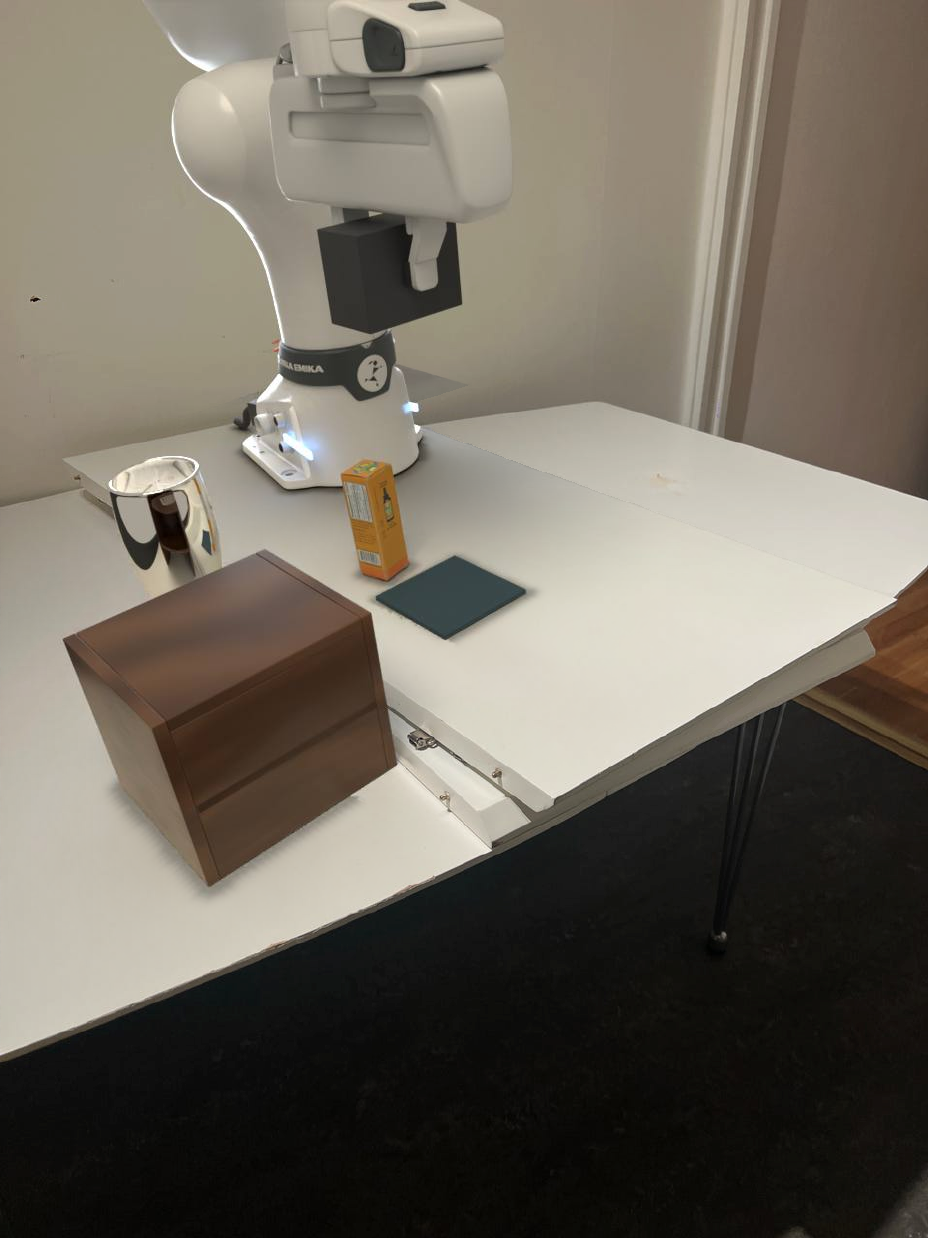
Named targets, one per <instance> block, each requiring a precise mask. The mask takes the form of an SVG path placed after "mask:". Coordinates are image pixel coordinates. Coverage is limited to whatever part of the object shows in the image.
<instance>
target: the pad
mask: <svg viewBox="0 0 928 1238" xmlns="http://www.w3.org/2000/svg"><path fill="white" fill-rule="evenodd" d="M526 593H527V590H526V588H524V587H522V586H520V585H518V584H515V583H513V582H511V581H509V580H507V579H505V578H503V577H501V576H500V575H497V574H495V573H492V572H491V571H488V570H487V569H485V568H482V567H480V566H478V565H476V564H474V563H472V562H470V561H468V560H466V559H463V558H461V557H459V556H457V555H452V556H451V557H449V558H446V559H444V560H443V561H441V562H439V563H436V564H435V565H433V566H431V567H429V568H427V569H425V570H423V571H422V572H419V573H418V574H416V575H413V576H412V577H410V578H408V579H406V580H404V581H402V582H399V583H398V584H396V585H394V586H392V587H391V588H388V589H386V590H384V591H383V592H381V593H378V594H377V595H375V601H378V602H379V603H381V604H383V605H384V606H386V607H388V608H390V609H391V610H393V611H395V612H397V613H399V614H400V615H402V616H403V617H406V618H407V619H409V620H410V621H412V622H414V623H416V624H417V625H419V626H421V627H423V628H424V629H426V630H427V631H429V632H431V633H432V634H434V635H437V636H438V637H440V638H442V639H443V640H447V639H449V638H452V636H454V635H456V634H457V633H460V632H461V631H463V630H464V629H466V628H468V627H470V626H471V625H474V624H475V623H477V622H479V621H480V620H482V619H484V618H485V617H487V616H490V614H492V613H494V612H496V611H498V610H499V609H501V608H503V607H504V606H506V605H508V604H510V603H511V602H513V601H515V600H517V599H518V598H520V597H522V596H524V595H525V594H526Z"/></svg>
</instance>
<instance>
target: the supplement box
mask: <svg viewBox="0 0 928 1238" xmlns="http://www.w3.org/2000/svg"><path fill="white" fill-rule="evenodd" d="M340 475H341V480H342V485H343V486H342V490H343V494H344V499H345V504H346V509H347V513H348V518H349V522H350V528H351V532H352V537H353V541H354V547H355V551H356V555H357V560H358V564H359V569H360V573H361V575H365V576H367V577H371V578H374V579H378V580H382V581H389V580H391V579H392V578H393V577H394V576H395V575H396V574H398V573H399V572H400V571H401V570H402V569H404V568H406V567H407V566H408V565H409V557H408V552H407V545H406V539H405V534H404V529H403V524H402V522H403V521H402V516H401V509H400V504H399V499H398V493H397V487H396V483H395V477H394V475H393V470H392V465H391V464H390V463H384V462H379V461H373V460H365V459H363V460H361V461H360V462H358V463H357V464H355V465H354V466H352V467H350V468H349V469H347V470H346V471H344V472H342V473H341V474H340Z"/></svg>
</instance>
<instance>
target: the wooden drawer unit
mask: <svg viewBox="0 0 928 1238" xmlns="http://www.w3.org/2000/svg"><path fill="white" fill-rule="evenodd" d="M372 614H373V613H372V612H371V611H369V610H368V609H366V608H365V607H363V606H361V605H359V604H358V603H356V602H355V601H353V600H351V599H350V598H348V597H346V596H345V595H343V594H341V593H339V592H338V591H336V590H334V589H333V588H331V587H329V586H328V585H326V584H324V583H323V582H321V581H319V580H318V579H316V578H314V577H313V576H311V575H309V574H308V573H306V572H304V571H302V570H301V569H299V568H297V567H296V566H295V565H293V564H291V563H289V562H288V561H286V560H284V559H283V558H281V557H279V556H278V555H276V554H275V553H273V552H271V551H269V550H268V549H266V548H263V549H261V550H259V551H257V552H255V553H252V554H249V555H247V556H245V557H243V558H241V559H239V560H237V561H234V562H232V563H230V564H227V565H226V566H222V568H221V569H218V570H216V571H214V572H212V573H209V574H207V575H205V576H203V577H200V578H198V579H196V580H194V581H191V582H189V583H187V584H185V585H182V586H180V587H178V588H176V589H173V590H171V591H169V592H167V593H164V594H162V595H160V596H158V597H156V598H153V599H148V600H146V601H144V602H142V603H140V604H137V605H136V606H133V607H131V608H129V609H127V610H124V611H122V612H119V613H118V614H115V615H113V616H111V617H108V618H106V619H104V620H102V621H100V622H97V623H95V624H93V625H90V626H88V627H86V628H83V629H81V630H79V631H77V632H76V633H72V634H70V635H68V636H65V637H63V638H62V643H63V645H64V647H65V650H66V653H67V654H68V656H69V659H70V662H71V664H72V667H73V669H74V671H75V674H76V676H77V679H78V682H79V684H80V686H81V688H82V692H83V694H84V697H85V699H86V702H87V704H88V706H89V709H90V712H91V714H92V717H93V719H94V722H95V724H96V727H97V729H98V731H99V734H100V737H101V739H102V741H103V745H104V747H105V749H106V751H107V753H108V756H109V758H110V759H109V760H110V761H111V763H112V767H113V769H114V772H115V774H116V776H117V779H118V781H119V784H120V786H121V788H122V789H123V790H124V791H125V792H126V794H127V795H128V796H129V797H130V798H131V799H132V801H134V803H135V804H136V805H137V807H139V808H140V809H141V811H142V812H143V813H144V814H145V815H146V817H147V818H148V819H149V820H150V821H151V822H152V824H153V825H154V826H155V827H156V828H157V829H158V830H159V832H160V833H161V834H162V835H163V837H164V838H165V839H167V841H168V842H169V843H170V845H172V847H173V848H174V849H175V850H176V851H177V852H178V853H179V854H180V855H181V857H182V858H183V859H184V861H186V863H187V864H188V865H189V866H190V867H191V868H192V870H193V871H194V872H195V873H196V874H197V876H198V877H199V878H200V879H201V880H202V881H203V883H205V885H206V886H207V887H210V886H212V885H214V884H215V883H217V882H219V881H220V880H221V879H223V878H225V877H227V876H228V875H230V874H231V873H232V872H234V871H236V870H237V869H239V868H240V867H242V866H243V865H245V864H246V863H247V862H249V861H251V860H253V859H254V858H255V857H257V856H258V855H260V854H262V853H264V852H265V851H266V850H268V849H269V848H271V847H272V846H274V845H276V844H277V843H278V842H280V841H282V840H283V839H285V838H287V837H288V836H290V835H291V834H293V833H294V832H295V831H297V830H299V829H300V828H301V827H303V826H305V825H306V824H308V823H310V822H311V821H313V820H314V819H315V818H317V817H319V816H321V815H322V814H323V813H325V812H326V811H328V810H330V809H332V808H333V807H334V806H335V805H337V804H339V803H340V802H342V801H344V800H345V799H346V798H348V797H350V796H351V795H353V794H355V793H356V792H357V791H359V790H360V789H362V788H363V787H365V786H367V785H369V784H370V783H371V782H374V780H376V779H378V778H379V777H381V776H382V775H384V774H385V773H387V772H388V771H389V770H391V769H392V768H394V767H396V766H397V765H398V761H397V755H396V749H395V743H394V737H393V731H392V725H391V720H390V713H389V708H388V707H389V706H388V702H387V695H386V689H385V685H384V678H383V673H382V667H381V661H380V655H379V650H378V643H377V638H376V632H375V626H374V619H373V615H372Z"/></svg>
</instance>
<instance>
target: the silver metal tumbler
mask: <svg viewBox="0 0 928 1238" xmlns="http://www.w3.org/2000/svg"><path fill="white" fill-rule="evenodd" d="M106 489H107V492H108V495H109V500H110V504H111V508H112V512H113V517H114V520H115V521H114V522H115V524H116V528H117V531H118V535H119V538H120V541H121V543H122V547H123V549H124V551H125V554H126V556H127V558H128V561H129V562H130V565H131V567H132V569H133V571H134V572H135V574H136V576H137V579H139V581H140V584H141V585H142V587H143V589H144V590H145V592H146V594H147V595H148V597H149V600H151V599H153V598H156V597H158V596H160V595H162V594H164V593H167V592H169V591H171V590H173V589H176V588H178V587H180V586H182V585H185V584H187V583H189V582H191V581H194V580H196V579H198V578H200V577H203V576H205V575H207V574H209V573H212V572H214V571H216V570H218V569H221V568H223V562H222V558H223V557H222V548H221V538H220V531H219V527H218V522H217V518H216V514H215V510H214V507H213V503H212V500H211V498H210V493H209V492H208V489H207V486H206V483H205V480H204V478H203V475H202V472H201V469H200V464H199V463H198V462H197V461H195V459H192V458H189V457H185V456H177V455H176V456H172V455H171V456H160V457H153V458H148V459H144V460H140V461H137V462H133V463H131V464H129V465H127V466H125V467H123V468H120V469H119V470H117V471H115V472H114V473H113V474H112V475H111V476H109V478H108V479H107V482H106Z"/></svg>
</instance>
